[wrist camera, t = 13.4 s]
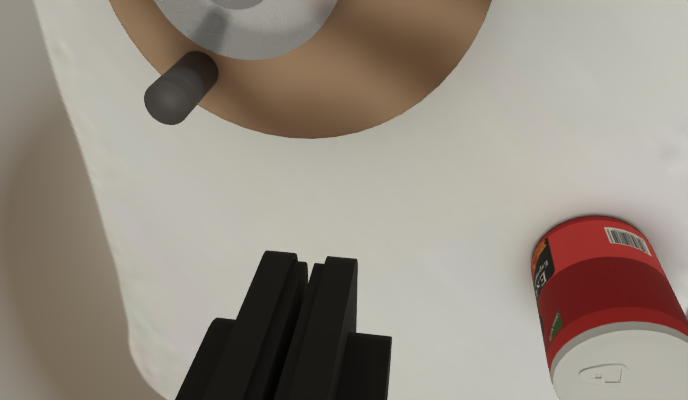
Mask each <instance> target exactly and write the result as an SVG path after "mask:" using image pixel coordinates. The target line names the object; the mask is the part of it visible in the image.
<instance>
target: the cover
mask: <svg viewBox="0 0 688 400" xmlns="http://www.w3.org/2000/svg"><path fill="white" fill-rule="evenodd" d="M154 1H155V3H156V4H157V6H158V7H159V9H160V10H161V11H162V13H163V14H164V15H165V16H166V18H167V19H168V20H169V21H170V22H171V23H172V24H173V25H174V26H175V27H176V28H177V29H178V30H179V31H180V32H181V33H183V34H184V35H185V36H186V37H187V38H189V39H190V40H192V41H193V42H195V43H196V44H198V45H200V46H201V47H203V48H205V49H207V50H209V51H212V52H214V53H217V54H219V55H222V56H226V57H230V58H234V59H242V60H262V59H269V58H273V57H277V56H280V55H283V54H286V53H288V52H290V51H292V50H294V49H296V48H298V47H299V46H301V45H302V44H304V43H305V42H306V41H308V40H309V39H310V38H311V37H312V36H313V35H314V34H315V33H316V32H317V31H318V30H319V29H320V28H321V27H322V25H323V24H324V22H325V21H326V19H327V18H328V16H329V15H330V13H331V12H332V10H333V8H334V6H335V5H336V3H337V1H338V0H154Z"/></svg>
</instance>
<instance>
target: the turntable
mask: <svg viewBox="0 0 688 400" xmlns="http://www.w3.org/2000/svg"><path fill="white" fill-rule="evenodd" d="M109 1H110V3H111V6H112V8H113V10H114V12H115V14H116V16H117V17H118V19H119V21H120V22H121V24H122V26H123V27H124V29H125V31H126V32H127V34H128V36H129V37H130V39H131V40H132V41H133V43H134V44H135V45H136V47H137V48H138V49H139V50H140V52H141V53H142V54H143V56H144V57H145V58H146V59H147V61H148V62H149V63H150V64H151V65H152V66H153V67H154V68H155V69H156V70H157V71H158V72H159V73H160V74H161V75H162V76H161V77H160V78H158V79H157V80H156V81H155V82H154V83H153V84H152V85H151V86H150V87H148V89H147V90H146V92H145V96H144V102H145V106H146V109H147V110H148V112H149V113H150V115H151V116H152V117H153V118H154V119H156V120H157V121H159V122H161V123H163V124H167V125H175V124H178V123H180V122H182V121H183V120H184V119H185V118H186V117H187V116H188V115H189V113H190V112H191V111H192V110H193V109H194V108H195V106H196V105H197V104H198V105H199V106H201V107H202V108H204V109H206V110H208V111H209V112H211V113H213V114H215V115H217V116H219V117H220V118H222V119H224V120H227V121H229V122H232V123H234V124H237V125H239V126H242V127H244V128H247V129H251V130H254V131H258V132H261V133H265V134H269V135H276V136H282V137H288V138H308V139H315V138H327V137H337V136H342V135H347V134H352V133H356V132H360V131H363V130H366V129H369V128H372V127H374V126H377V125H380V124H382V123H384V122H386V121H388V120H390V119H392V118H394V117H396V116H398V115H400V114H402V113H404V112H405V111H407V110H408V109H410V108H411V107H413V106H414V105H416V104H417V103H419V102H420V101H421V100H423V99H424V98H425V97H426V96H427V95H428V94H430V93H431V92H432V91H433V90H434V89H435V88H437V87H438V86H439V85H440V84H441V83H442V82H443V81H444V79H445V78H446V77H447V76H448V75H449V74H450V73H451V72H452V71H453V69H454V68H455V67H456V66H457V65H458V63H459V62H460V60H461V59H462V57H463V56H464V55H465V53H466V52H467V50H468V49H469V47H470V46H471V44H472V43H473V41H474V39H475V37H476V35H477V33H478V31H479V29H480V27H481V25H482V23H483V21H484V19H485V17H486V14H487V11H488V9H489V6H490V3H491V1H492V0H338V1H337V3H336V5H335V6H334V8H333V10H332V12H331V13H330V15H329V16H328V18H327V19H326V21H325V22H324V24H323V25H322V27H321V28H320V29H319V30H318V31H317V32H316V33H315V34H314V35H313V36H312V37H311V38H310V39H309V40H308V41H306V42H305V43H304V44H302V45H301V46H299V47H298V48H296V49H294V50H292V51H290V52H288V53H286V54H283V55H280V56H277V57H273V58H269V59H262V60H242V59H234V58H230V57H226V56H222V55H219V54H217V53H214V52H212V51H209V50H207V49H205V48H203V47H201V46H200V45H198V44H196V43H195V42H193V41H192V40H190V39H189V38H187V37H186V36H185V35H184V34H183V33H181V32H180V31H179V30H178V29H177V28H176V27H175V26H174V25H173V24H172V23H171V22H170V21H169V20H168V19H167V18H166V16H165V15H164V14H163V13H162V11H161V10H160V9H159V7H158V6H157V4H156V3H155V1H154V0H109Z"/></svg>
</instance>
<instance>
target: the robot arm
mask: <svg viewBox="0 0 688 400" xmlns="http://www.w3.org/2000/svg"><path fill="white" fill-rule="evenodd" d="M357 273H358V262H357V259H352V258H341V257H331V256H327V258H326V261H325V264H320V263H315V264H314V266H313V270H312V273H311V276H310V280H309V283H308V267H307V263H306V262H299V261H298V258H297V254H296V253H288V252H278V251H265V253H264V254H263V256H262V259H261V261H260V264H259V266H258V268H257V271H256V273H255V276H254V278H253V280H252V283H251V285H250V287H249V290H248V292H247V295H246V297H245V299H244V302H243V304H242V306H241V309H240V311H239V314H238V316H237V318H236V320H234V319H225V318H216V319H214V320H213V321H212V323H211V325H210V326H209V328H208V330H207V332H206V335H205V337H204V339H203V341H202V343H201V345H200V347H199V350H198V352H197V354H196V356H195V358H194V360H193V362H192V365H191V367H190V369H189V371H188V373H187V375H186V377H185V380H184V382H183V384H182V386H181V388H180V390H179V392H178V395H177V397H176V399H175V400H387V397H388V385H389V373H390V360H391V345H392V337H390V336H381V335H372V334H363V333H356V317H357Z"/></svg>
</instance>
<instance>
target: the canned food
mask: <svg viewBox="0 0 688 400" xmlns="http://www.w3.org/2000/svg"><path fill="white" fill-rule="evenodd" d="M531 272H532V279H533V285H534V290H535V296H536V301H537V307H538V313H539V318H540V324H541V329H542V335H543V341H544V346H545V352H546V357H547V363H548V368H549V372H550V377H551V381H552V384H553V387H554V390H555V392H556V395H557V397H558V398H559V399H560V400H688V321H687V318H686V316H685V314H684V312H683V310H682V308H681V306H680V304H679V302H678V300H677V298H676V296H675V294H674V292H673V290H672V288H671V286H670V284H669V281H668V279H667V277H666V275H665V273H664V271H663V269H662V267H661V265H660V263H659V261H658V259H657V257H656V255H655V253H654V251H653V249H652V247H651V245H650V243H649V242H648V240H647V239H646V238H645V237H644V236H643V235H642V234H641V233H640V232H639V231H637V230H636V229H635V228H633V227H632V226H630V225H629V224H627V223H625V222H623V221H620V220H617V219H614V218H609V217H601V216H590V217H581V218H577V219H573V220H570V221H567V222H565V223H563V224H560V225H558V226H557V227H555V228H554V229H552V230H551V231H549V232H548V233H547V234H546V235H545V236H544V237H543V238H542V239H541V241H540V242H539V244H538V245H537V247H536V250H535V252H534V255H533V258H532V264H531Z"/></svg>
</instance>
